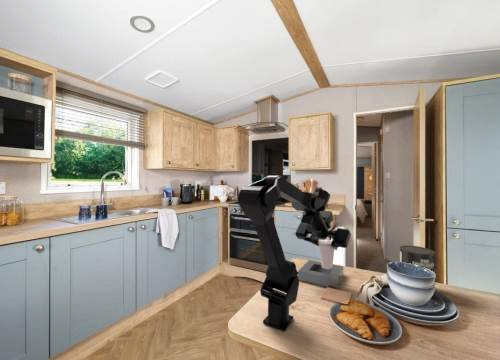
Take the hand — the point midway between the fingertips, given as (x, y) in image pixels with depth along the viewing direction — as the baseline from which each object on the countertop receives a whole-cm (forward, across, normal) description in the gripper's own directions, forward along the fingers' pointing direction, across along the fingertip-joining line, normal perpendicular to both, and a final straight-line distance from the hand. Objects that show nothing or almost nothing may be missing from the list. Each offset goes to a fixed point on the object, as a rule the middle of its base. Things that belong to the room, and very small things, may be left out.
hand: (328, 247), depth 87 cm
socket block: (+10, +3, +8) cm, 13 cm away
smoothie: (+4, 0, +6) cm, 7 cm away
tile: (+3, -7, +15) cm, 17 cm away
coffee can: (+20, -26, -2) cm, 33 cm away
